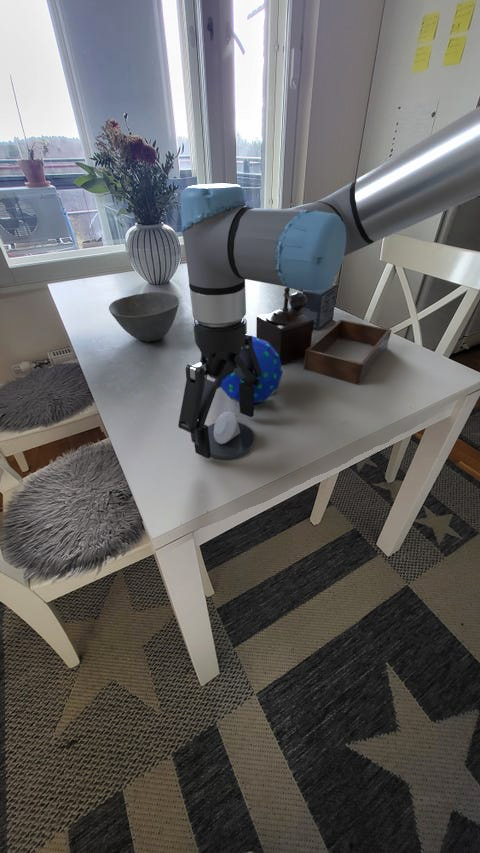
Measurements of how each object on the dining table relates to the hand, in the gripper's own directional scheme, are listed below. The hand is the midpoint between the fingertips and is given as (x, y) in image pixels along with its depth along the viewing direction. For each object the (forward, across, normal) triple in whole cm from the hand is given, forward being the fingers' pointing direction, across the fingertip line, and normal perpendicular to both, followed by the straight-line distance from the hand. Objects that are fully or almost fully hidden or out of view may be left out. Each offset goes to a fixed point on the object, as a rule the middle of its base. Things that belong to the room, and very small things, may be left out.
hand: (226, 433), depth 62 cm
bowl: (+2, -25, -45) cm, 52 cm away
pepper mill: (+2, -35, -6) cm, 36 cm away
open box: (+2, -42, +7) cm, 43 cm away
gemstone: (+1, 0, 0) cm, 1 cm away
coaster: (+2, 0, 0) cm, 2 cm away
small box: (+2, -59, -9) cm, 60 cm away
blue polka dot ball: (+2, -15, -5) cm, 16 cm away
